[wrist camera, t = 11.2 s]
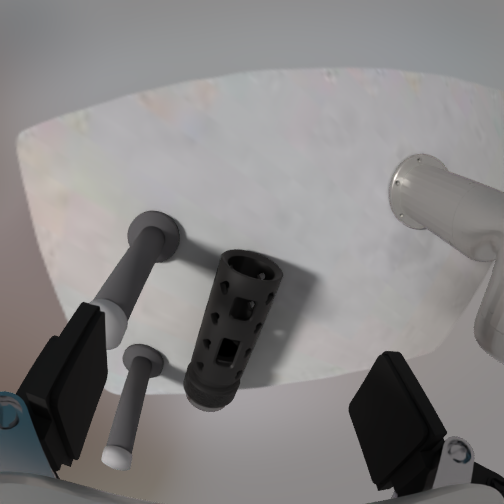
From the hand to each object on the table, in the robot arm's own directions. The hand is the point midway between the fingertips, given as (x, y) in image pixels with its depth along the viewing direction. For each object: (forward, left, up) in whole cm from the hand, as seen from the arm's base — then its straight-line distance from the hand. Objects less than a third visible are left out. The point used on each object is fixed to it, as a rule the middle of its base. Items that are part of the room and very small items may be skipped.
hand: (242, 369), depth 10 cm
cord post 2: (+10, +38, -38) cm, 55 cm away
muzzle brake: (-4, +25, -39) cm, 46 cm away
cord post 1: (+10, +12, -38) cm, 41 cm away
